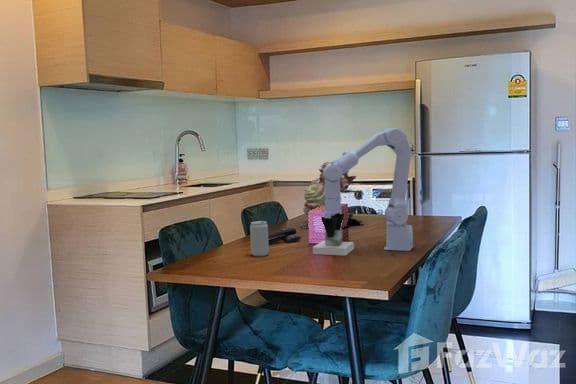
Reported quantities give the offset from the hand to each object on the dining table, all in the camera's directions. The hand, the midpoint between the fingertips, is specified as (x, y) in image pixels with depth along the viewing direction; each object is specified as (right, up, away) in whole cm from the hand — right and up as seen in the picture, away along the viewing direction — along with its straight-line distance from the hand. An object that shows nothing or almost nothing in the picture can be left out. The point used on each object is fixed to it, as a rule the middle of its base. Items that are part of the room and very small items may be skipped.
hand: (333, 235), depth 202 cm
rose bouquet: (+2, 0, +58) cm, 58 cm away
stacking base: (0, -6, +1) cm, 6 cm away
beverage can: (-27, -7, -2) cm, 28 cm away
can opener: (-20, -5, +20) cm, 29 cm away
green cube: (0, -3, 0) cm, 3 cm away
